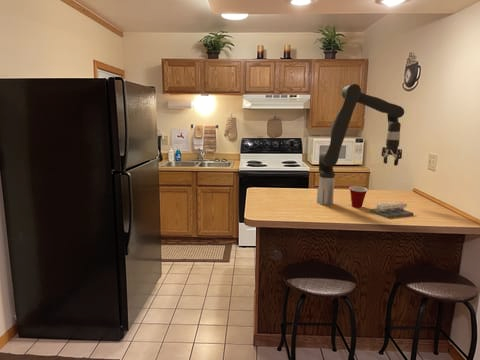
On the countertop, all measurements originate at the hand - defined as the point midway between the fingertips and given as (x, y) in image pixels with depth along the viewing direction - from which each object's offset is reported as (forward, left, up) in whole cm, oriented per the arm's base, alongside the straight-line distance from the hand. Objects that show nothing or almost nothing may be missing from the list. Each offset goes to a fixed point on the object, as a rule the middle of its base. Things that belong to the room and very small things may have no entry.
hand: (390, 164), depth 215 cm
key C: (-10, -21, -23) cm, 32 cm away
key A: (-23, -21, -23) cm, 38 cm away
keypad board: (-16, -21, -25) cm, 36 cm away
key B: (-16, -21, -23) cm, 35 cm away
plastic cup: (-26, -3, -25) cm, 36 cm away
